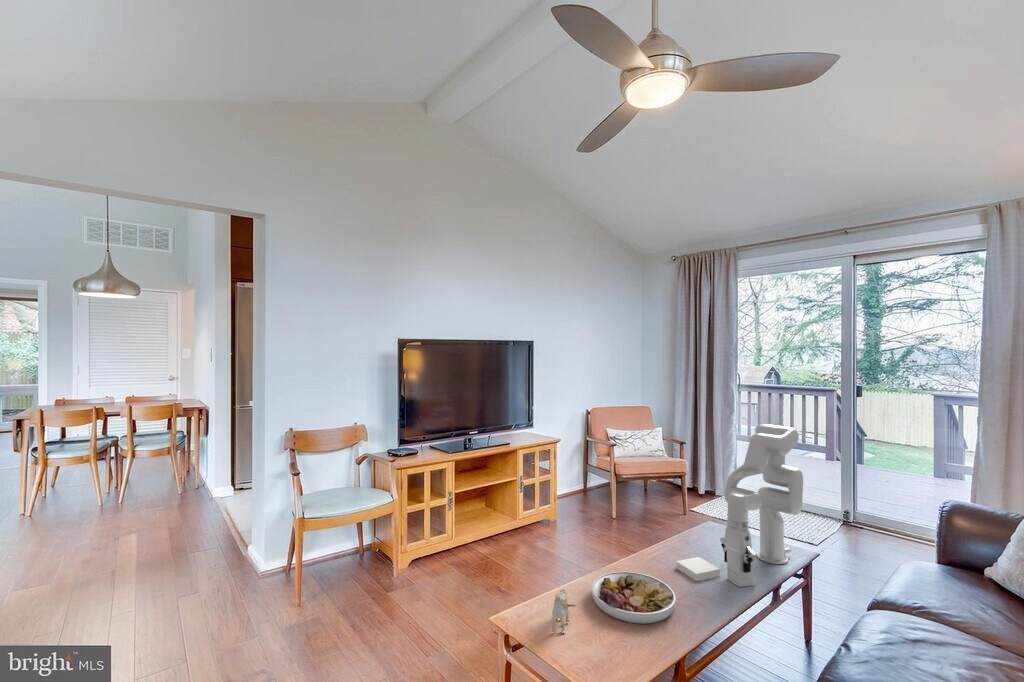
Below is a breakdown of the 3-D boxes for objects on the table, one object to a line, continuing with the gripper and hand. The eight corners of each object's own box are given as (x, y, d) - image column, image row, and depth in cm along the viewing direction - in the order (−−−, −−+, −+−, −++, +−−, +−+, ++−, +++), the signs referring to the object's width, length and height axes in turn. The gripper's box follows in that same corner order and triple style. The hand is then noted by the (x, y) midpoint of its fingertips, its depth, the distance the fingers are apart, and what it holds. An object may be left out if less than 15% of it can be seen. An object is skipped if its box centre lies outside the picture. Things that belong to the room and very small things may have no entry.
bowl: (619, 576, 193) (619, 557, 193) (690, 604, 171) (689, 583, 171) (575, 603, 172) (575, 582, 172) (649, 640, 150) (649, 615, 150)
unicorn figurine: (554, 648, 145) (554, 605, 146) (547, 613, 165) (547, 575, 165) (576, 648, 146) (576, 605, 146) (567, 613, 165) (567, 575, 165)
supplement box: (755, 585, 184) (754, 553, 185) (738, 587, 183) (738, 554, 183) (742, 577, 192) (741, 546, 192) (726, 578, 190) (726, 547, 191)
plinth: (698, 563, 203) (698, 556, 203) (719, 576, 192) (719, 569, 192) (676, 568, 199) (676, 561, 199) (696, 581, 188) (696, 573, 188)
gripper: (762, 530, 181) (762, 575, 181) (728, 516, 198) (727, 556, 197) (747, 532, 179) (747, 577, 178) (714, 517, 195) (713, 559, 194)
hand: (737, 566), depth 187 cm, fingers open, 9 cm apart
